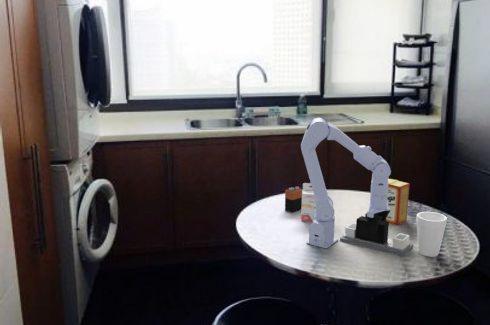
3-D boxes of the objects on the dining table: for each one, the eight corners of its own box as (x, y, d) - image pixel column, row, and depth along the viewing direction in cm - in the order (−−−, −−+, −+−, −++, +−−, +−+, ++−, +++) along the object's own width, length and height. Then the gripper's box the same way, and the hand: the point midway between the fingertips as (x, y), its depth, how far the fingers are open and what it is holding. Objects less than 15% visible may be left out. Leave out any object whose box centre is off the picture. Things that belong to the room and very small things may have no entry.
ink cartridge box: (301, 221, 198) (302, 186, 194) (301, 217, 203) (301, 182, 199) (323, 222, 197) (324, 186, 194) (322, 218, 202) (323, 183, 198)
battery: (284, 210, 211) (284, 187, 209) (295, 207, 215) (296, 184, 213) (291, 213, 208) (292, 190, 205) (303, 209, 212) (303, 187, 209)
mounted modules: (402, 249, 168) (403, 240, 167) (345, 235, 180) (345, 227, 179) (408, 243, 172) (409, 234, 172) (352, 230, 184) (352, 222, 184)
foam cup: (420, 244, 175) (423, 209, 172) (447, 251, 169) (450, 215, 166) (409, 253, 168) (412, 217, 165) (437, 261, 162) (441, 223, 159)
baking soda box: (406, 221, 198) (409, 182, 194) (397, 225, 193) (400, 185, 190) (385, 215, 205) (388, 177, 201) (376, 219, 200) (378, 180, 196)
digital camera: (389, 239, 176) (390, 220, 174) (383, 244, 172) (385, 224, 170) (361, 232, 182) (362, 214, 180) (355, 237, 178) (356, 218, 176)
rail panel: (403, 256, 166) (403, 251, 165) (339, 240, 179) (340, 236, 179) (413, 246, 174) (413, 242, 173) (351, 232, 187) (351, 228, 186)
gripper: (382, 201, 164) (379, 240, 167) (397, 191, 175) (395, 227, 179) (362, 197, 168) (360, 235, 171) (378, 187, 179) (376, 223, 183)
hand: (376, 231), depth 175 cm, fingers closed on digital camera, 5 cm apart
